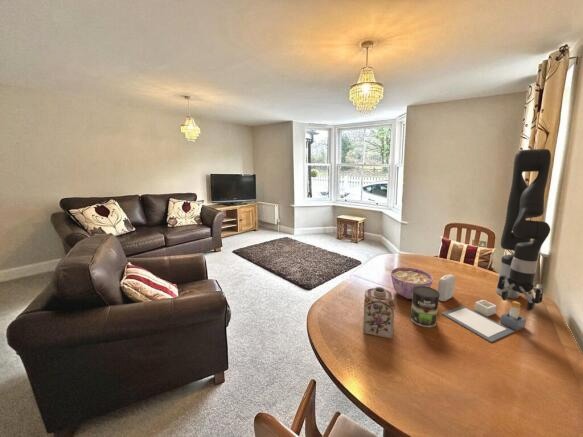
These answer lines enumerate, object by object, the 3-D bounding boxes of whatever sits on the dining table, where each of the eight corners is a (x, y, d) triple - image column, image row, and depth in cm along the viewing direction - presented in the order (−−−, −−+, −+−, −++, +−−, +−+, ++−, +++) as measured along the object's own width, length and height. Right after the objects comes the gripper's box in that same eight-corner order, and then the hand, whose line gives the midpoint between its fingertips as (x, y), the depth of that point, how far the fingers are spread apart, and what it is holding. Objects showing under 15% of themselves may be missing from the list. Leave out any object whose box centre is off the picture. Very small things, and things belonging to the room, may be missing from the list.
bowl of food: (388, 301, 128) (390, 280, 126) (389, 283, 146) (390, 265, 144) (433, 308, 121) (435, 286, 118) (428, 289, 139) (430, 269, 137)
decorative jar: (391, 322, 112) (394, 284, 108) (393, 339, 101) (396, 298, 97) (363, 317, 116) (365, 281, 112) (362, 333, 105) (363, 294, 101)
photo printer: (445, 293, 135) (448, 271, 132) (454, 296, 131) (457, 274, 129) (435, 299, 129) (438, 276, 127) (444, 302, 126) (447, 279, 123)
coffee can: (438, 329, 106) (442, 299, 103) (411, 324, 110) (414, 295, 107) (434, 315, 116) (437, 287, 113) (409, 311, 119) (411, 284, 116)
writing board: (463, 306, 122) (463, 305, 122) (514, 332, 104) (514, 330, 103) (441, 313, 117) (441, 312, 117) (491, 342, 98) (491, 341, 98)
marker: (510, 321, 110) (514, 300, 108) (518, 325, 107) (522, 303, 105) (506, 323, 109) (510, 302, 106) (514, 327, 106) (518, 305, 104)
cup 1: (481, 307, 122) (483, 299, 121) (495, 313, 116) (496, 305, 115) (474, 309, 119) (475, 302, 119) (487, 316, 114) (488, 308, 113)
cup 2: (508, 319, 112) (509, 311, 111) (524, 327, 106) (526, 318, 105) (500, 323, 109) (501, 314, 109) (516, 331, 104) (517, 322, 103)
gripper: (551, 273, 97) (543, 311, 101) (508, 260, 110) (502, 294, 114) (540, 277, 94) (532, 316, 98) (497, 264, 107) (491, 298, 111)
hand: (516, 304), depth 106 cm, fingers open, 8 cm apart
